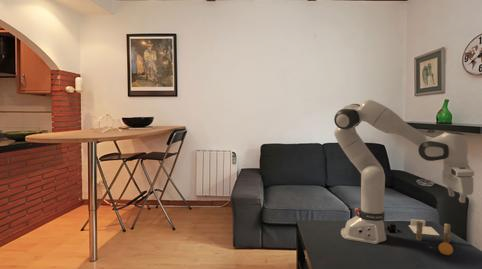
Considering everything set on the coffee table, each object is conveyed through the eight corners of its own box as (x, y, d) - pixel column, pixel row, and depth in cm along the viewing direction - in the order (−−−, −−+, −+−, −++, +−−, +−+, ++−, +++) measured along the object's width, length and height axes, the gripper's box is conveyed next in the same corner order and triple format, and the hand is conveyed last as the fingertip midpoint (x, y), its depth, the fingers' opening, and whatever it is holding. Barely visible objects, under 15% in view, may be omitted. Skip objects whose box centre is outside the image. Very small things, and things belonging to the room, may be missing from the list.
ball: (441, 256, 134) (441, 244, 134) (436, 251, 139) (436, 239, 139) (455, 258, 133) (455, 246, 132) (449, 252, 138) (450, 241, 138)
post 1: (417, 240, 152) (417, 223, 151) (415, 238, 154) (416, 221, 154) (422, 240, 151) (423, 223, 150) (421, 238, 154) (421, 221, 153)
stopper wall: (411, 225, 172) (411, 220, 172) (410, 224, 174) (410, 219, 174) (425, 226, 170) (425, 221, 170) (424, 225, 172) (424, 220, 172)
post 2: (444, 242, 149) (445, 225, 148) (442, 240, 151) (443, 223, 150) (450, 243, 148) (451, 225, 147) (448, 241, 150) (449, 223, 150)
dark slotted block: (403, 235, 159) (403, 227, 158) (389, 235, 159) (389, 227, 159) (392, 227, 171) (393, 219, 171) (379, 226, 172) (380, 219, 171)
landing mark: (414, 233, 160) (414, 233, 160) (408, 225, 172) (408, 225, 172) (439, 235, 157) (439, 235, 157) (431, 227, 169) (431, 226, 169)
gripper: (437, 164, 140) (438, 192, 141) (458, 173, 120) (459, 206, 121) (452, 163, 138) (453, 192, 139) (476, 172, 119) (477, 206, 120)
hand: (456, 199), depth 130 cm, fingers open, 8 cm apart
